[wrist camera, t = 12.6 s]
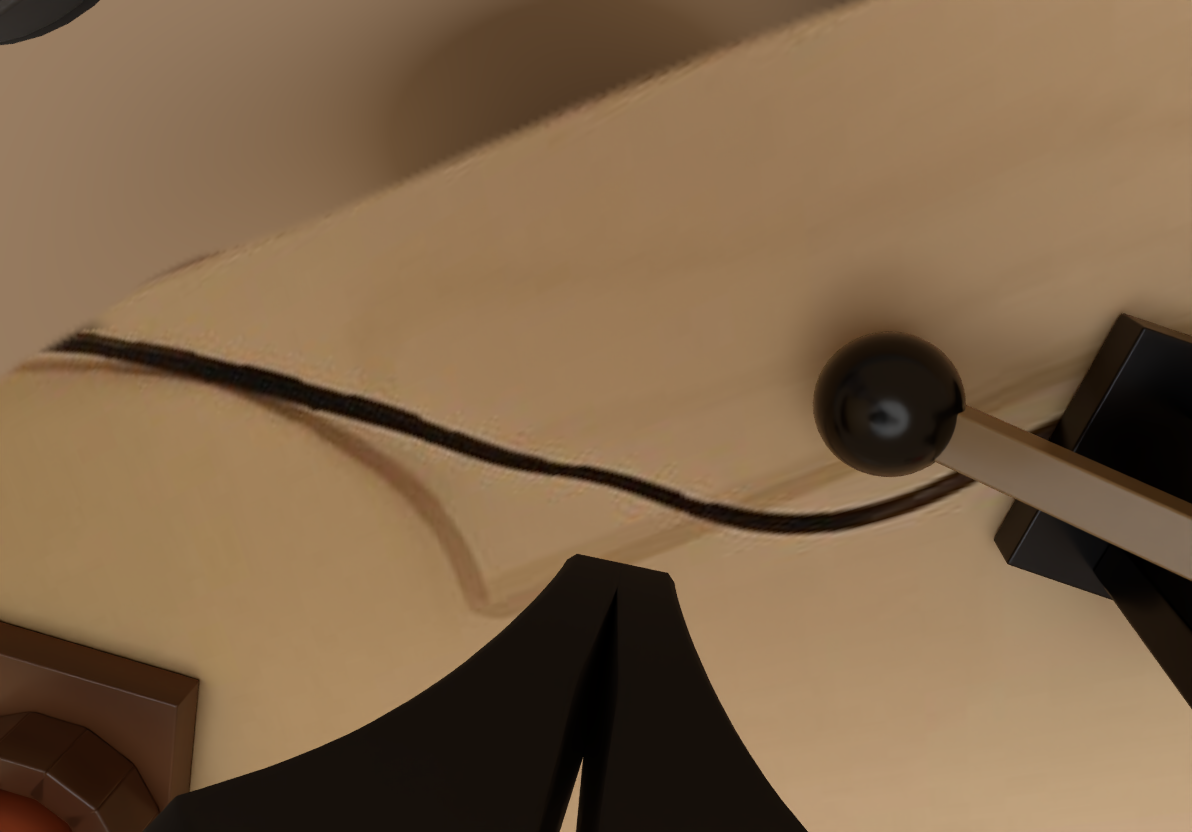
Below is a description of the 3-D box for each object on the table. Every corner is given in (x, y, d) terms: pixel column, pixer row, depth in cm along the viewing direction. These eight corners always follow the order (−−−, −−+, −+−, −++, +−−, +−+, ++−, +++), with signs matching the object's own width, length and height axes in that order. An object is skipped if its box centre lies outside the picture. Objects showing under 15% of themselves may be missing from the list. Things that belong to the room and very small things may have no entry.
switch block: (-24, 613, 27) (-109, 677, 24) (200, 679, 27) (139, 750, 24) (-18, 851, 31) (-90, 929, 28) (178, 911, 31) (124, 995, 28)
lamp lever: (811, 419, 21) (773, 452, 19) (864, 301, 20) (831, 318, 17) (1389, 693, 17) (1443, 783, 15) (1497, 564, 16) (1576, 637, 13)
